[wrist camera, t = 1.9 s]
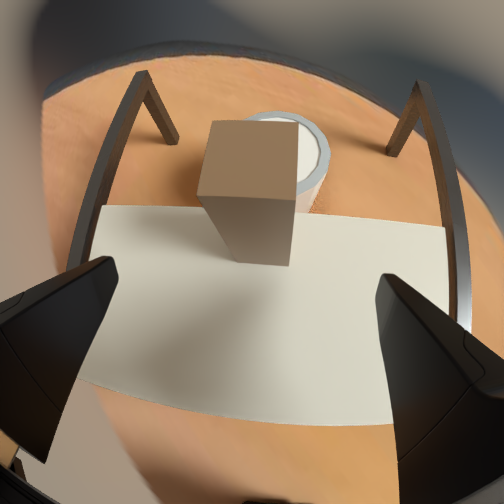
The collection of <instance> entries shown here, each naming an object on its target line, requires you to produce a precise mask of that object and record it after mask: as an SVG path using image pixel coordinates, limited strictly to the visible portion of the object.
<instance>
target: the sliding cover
mask: <svg viewBox="0 0 504 504" xmlns="http://www.w3.org/2000/svg"><path fill="white" fill-rule="evenodd" d="M298 135H299V122H285V121H255V120H222V121H212V125H211V129H210V133H209V137H208V142H207V146H206V151H205V155H204V160H203V165H202V169H201V174H200V179H199V184H198V189H197V194H196V196H197V197H198V199H199V201H200V202H201V204H202V206H203V207H184V206H142V205H102V208H101V211H100V215H99V219H98V223H97V227H96V231H95V235H94V239H93V244H92V248H91V253H90V258H89V261H91V260H93V259H95V258H98V257H100V256H112V257H113V258H114V261H115V264H116V268H117V271H118V275H119V281H118V284H117V287H116V289H115V292H114V294H113V297H112V299H111V302H110V304H109V307H108V310H107V312H106V314H105V317H104V319H103V321H102V323H101V325H100V327H99V329H98V331H97V333H96V335H95V338H94V340H93V342H92V344H91V346H90V348H89V350H88V353H87V355H86V357H85V359H84V361H83V364H82V366H81V368H80V371H79V373H78V375H77V378H79V379H81V380H84V381H86V382H89V383H92V384H95V385H97V386H100V387H103V388H106V389H109V390H112V391H115V392H119V393H122V394H125V395H128V396H132V397H135V398H139V399H142V400H146V401H150V402H154V403H158V404H162V405H166V406H170V407H174V408H179V409H183V410H188V411H193V412H198V413H203V414H209V415H215V416H221V417H227V418H234V419H241V420H249V421H258V422H267V423H279V424H293V425H314V426H359V425H380V424H393V416H392V409H391V402H390V396H389V390H388V384H387V378H386V372H385V367H384V362H383V357H382V352H381V347H380V341H379V333H378V323H377V313H376V305H375V295H376V291H377V287H378V284H379V280H380V277H381V275H382V274H383V273H393V274H395V275H397V276H398V277H399V278H401V279H402V280H403V281H405V282H406V283H407V284H409V285H410V286H411V287H413V288H414V289H415V290H417V291H418V292H419V293H421V294H422V295H423V296H424V297H426V298H427V299H428V300H430V301H431V302H432V303H433V304H435V305H436V306H437V307H439V308H440V309H441V310H442V311H444V312H445V313H446V314H447V315H449V278H448V257H447V244H446V233H445V227H438V226H430V225H422V224H414V223H405V222H396V221H387V220H378V219H368V218H358V217H347V216H336V215H324V214H312V213H298V212H295V205H296V190H297V166H298Z"/></svg>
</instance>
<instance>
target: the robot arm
mask: <svg viewBox="0 0 504 504" xmlns="http://www.w3.org/2000/svg"><path fill="white" fill-rule="evenodd" d="M118 281H119V275H118V271H117V268H116V264H115V261H114V258H113V257H112V256H100V257H98V258H95V259H93V260H91V261H89V262H86V263H84V264H82V265H80V266H77V267H75V268H73V269H71V270H68V271H66V272H64V273H62V274H60V275H57V276H55V277H53V278H51V279H49V280H47V281H45V282H43V283H40V284H38V285H36V286H34V287H32V288H30V289H28V290H26V291H25V292H22V293H20V294H18V295H16V296H13V297H12V298H9V299H7V300H5V301H3V302H1V303H0V504H60V503H59V502H57V501H55V500H53V499H52V498H50V497H49V496H47V495H45V494H44V493H42V492H41V491H39V490H38V489H36V488H35V487H33V486H32V485H30V484H29V483H28V482H27V481H26V477H25V474H24V470H23V466H22V462H21V460H20V459H18V458H17V457H16V454H17V452H18V450H19V448H21V449H22V450H23V451H25V452H26V453H28V454H29V455H31V456H32V457H34V458H35V459H37V460H38V461H40V462H42V463H43V464H45V462H46V460H47V457H48V453H49V450H50V447H51V444H52V441H53V438H54V435H55V433H56V430H57V427H58V424H59V421H60V418H61V416H62V413H63V410H64V407H65V405H66V402H67V400H68V397H69V395H70V392H71V389H72V387H73V384H74V382H75V380H76V378H77V375H78V373H79V371H80V368H81V366H82V364H83V361H84V359H85V357H86V355H87V353H88V350H89V348H90V346H91V344H92V342H93V340H94V338H95V335H96V333H97V331H98V329H99V327H100V325H101V323H102V321H103V319H104V317H105V314H106V312H107V310H108V307H109V304H110V302H111V299H112V297H113V294H114V292H115V289H116V287H117V284H118ZM375 305H376V313H377V323H378V333H379V341H380V347H381V352H382V357H383V362H384V367H385V372H386V378H387V384H388V390H389V396H390V402H391V409H392V416H393V424H394V432H395V441H396V451H397V461H398V478H399V498H400V504H504V359H502V358H501V357H500V356H498V355H497V354H496V353H494V352H493V351H492V350H490V349H489V348H488V347H487V346H485V345H484V344H483V343H482V342H480V341H479V340H478V339H477V338H475V337H474V336H473V335H472V334H471V333H469V332H468V331H467V330H465V329H464V328H463V327H462V326H461V325H460V324H458V323H457V322H456V321H455V320H454V319H452V318H451V317H450V316H449V315H447V314H446V313H445V312H444V311H442V310H441V309H440V308H439V307H437V306H436V305H435V304H433V303H432V302H431V301H430V300H428V299H427V298H426V297H424V296H423V295H422V294H421V293H419V292H418V291H417V290H415V289H414V288H413V287H411V286H410V285H409V284H407V283H406V282H405V281H403V280H402V279H401V278H399V277H398V276H397V275H395V274H393V273H383V274H382V275H381V277H380V280H379V284H378V287H377V291H376V295H375ZM242 504H277V503H259V502H250V501H246V502H243V503H242Z"/></svg>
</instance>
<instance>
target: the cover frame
mask: <svg viewBox="0 0 504 504" xmlns="http://www.w3.org/2000/svg"><path fill="white" fill-rule="evenodd" d="M142 102H144V104H145V106H146V107H147V109H148V111H149V113H150V114H151V116H152V118H153V120H154V121H155V123H156V125H157V127H158V128H159V130H160V132H161V134H162V135H163V137H164V139H165V141H166V142H167V144H168V145H176V144H178V140H179V137H180V136H179V134H178V132H177V130H176V128H175V126H174V124H173V122H172V120H171V118H170V116H169V114H168V112H167V110H166V108H165V106H164V104H163V102H162V100H161V98H160V96H159V94H158V92H157V90H156V88H155V86H154V84H153V82H152V78H151V76H150V74H149V72H148V70H144V71H138V72H136V73H135V75H134V77H133V79H132V81H131V83H130V85H129V87H128V89H127V91H126V93H125V95H124V97H123V99H122V101H121V103H120V105H119V107H118V110H117V112H116V114H115V116H114V118H113V121H112V123H111V125H110V128H109V130H108V132H107V135H106V137H105V140H104V142H103V145H102V147H101V150H100V152H99V155H98V158H97V161H96V163H95V166H94V169H93V172H92V175H91V178H90V181H89V184H88V187H87V190H86V193H85V196H84V199H83V203H82V206H81V210H80V213H79V217H78V220H77V224H76V228H75V232H74V236H73V240H72V245H71V249H70V253H69V258H68V263H67V268H66V271H68V270H71V269H73V268H75V267H77V266H80V265H82V264H84V263H86V262H89V258H90V253H91V248H92V244H93V239H94V235H95V231H96V227H97V223H98V219H99V215H100V211H101V208H102V205H106V204H107V200H108V197H109V193H110V190H111V187H112V183H113V180H114V177H115V174H116V171H117V168H118V165H119V162H120V159H121V156H122V153H123V150H124V147H125V145H126V142H127V139H128V136H129V134H130V131H131V129H132V126H133V123H134V121H135V118H136V116H137V114H138V111H139V109H140V106H141V104H142ZM419 117H421V120H422V124H423V127H424V131H425V135H426V139H427V143H428V147H429V151H430V155H431V160H432V165H433V169H434V175H435V180H436V185H437V191H438V198H439V204H440V211H441V219H442V227H445V233H446V244H447V257H448V278H449V316H450V317H451V318H452V319H454V320H455V321H456V322H457V323H458V324H460V325H461V326H462V327H463V328H464V329H465V330H467V331H468V332H469V333H471V320H472V289H471V267H470V254H469V244H468V235H467V227H466V220H465V213H464V207H463V201H462V196H461V190H460V185H459V181H458V176H457V172H456V167H455V163H454V159H453V155H452V152H451V148H450V144H449V141H448V137H447V134H446V131H445V127H444V124H443V121H442V118H441V115H440V112H439V110H438V107H437V104H436V101H435V99H434V96H433V93H432V91H431V88H430V86H429V84H428V82H425V81H421V80H418V79H417V80H416V82H415V84H414V87H413V89H412V93H411V95H410V97H409V100H408V102H407V104H406V106H405V108H404V111H403V113H402V115H401V117H400V119H399V121H398V124H397V126H396V128H395V130H394V132H393V134H392V136H391V138H390V140H389V143H388V145H387V147H386V149H387V156H392V157H397V156H398V155H399V153H400V151H401V149H402V148H403V146H404V144H405V142H406V141H407V139H408V137H409V135H410V133H411V131H412V130H413V128H414V126H415V124H416V122H417V120H418V118H419Z"/></svg>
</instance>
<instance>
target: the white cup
mask: <svg viewBox="0 0 504 504" xmlns="http://www.w3.org/2000/svg"><path fill="white" fill-rule="evenodd" d="M244 120H255V121H285V122H299V135H298V166H297V190H296V205H295V212H298V213H308V212H309V210H310V208H311V206H312V204H313V202H314V200H315V197H316V195H317V193H318V191H319V189H320V187H321V184H322V182H323V180H324V178H325V175H326V173H327V171H328V166H329V161H330V156H331V152H330V148H329V145H328V142H327V138H326V136H325V135H324V134H323V133H322V132H321V130H320V129H319V128H318V127H317V126H316V125H315V124H314V123H313V122H311V121H309V120H307V119H305V118H304V117H302V116H300V115H298V114H294V113H288V112H283V111H271V112H263V113H258V114H255V115H253V116H251V117H249V118H246V119H244Z"/></svg>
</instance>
